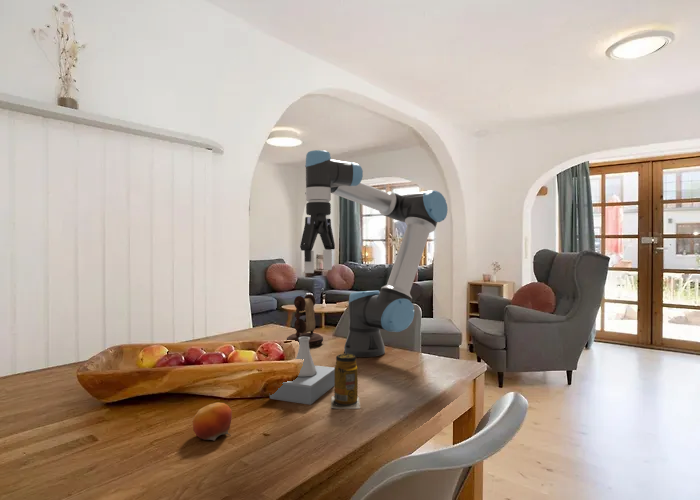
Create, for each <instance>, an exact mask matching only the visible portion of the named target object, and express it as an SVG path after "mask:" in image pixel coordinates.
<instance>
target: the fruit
mask: <svg viewBox="0 0 700 500" xmlns="http://www.w3.org/2000/svg"><path fill="white" fill-rule="evenodd" d="M232 412H233V411H232V409H231V407H230V406H229V405H228V404H226V403H225V402H219V401H218V402H213V403H210V404H207V405H205V406H203V407H202V408H200V409H199V410H198V411H197V412H196V414H195V415H193V418H192V429H193V430H192V431H193V432H194V433H195V435H196V436H197V437H198V438H199V439H200V440H204V441H205V440H207V441H209V440H210V441H214V442H215V441H216V439H217V438H218V437H220V436H221V435H228V436H229V437H230V436H231V434H230V433H229V430H230V428H231V423H232V415H233V413H232Z"/></svg>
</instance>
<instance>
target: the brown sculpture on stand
mask: <svg viewBox="0 0 700 500" xmlns="http://www.w3.org/2000/svg"><path fill="white" fill-rule="evenodd" d="M293 305H294V307H295V314H294V317H295V319H296V320H295V322H294V325H293V326H294V329H295V331H296V333H292V334H290V335H289V336H287V337H286V341H287V340H295V341H298V342H299V339H298V338H299V337H309V338H310V340H309V345H315V344H319V343H320V344H322V343H323V342H324V336H322V335H320V333H316V332H315V328H316V317H315V305H316V299H315V296H314V295H313V294H311V293H308V294H306V295H305V296H304V297H303V296H302V295H298V296H296V297H295V298H294V301H293ZM301 317H305V318H304V319H301Z"/></svg>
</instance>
